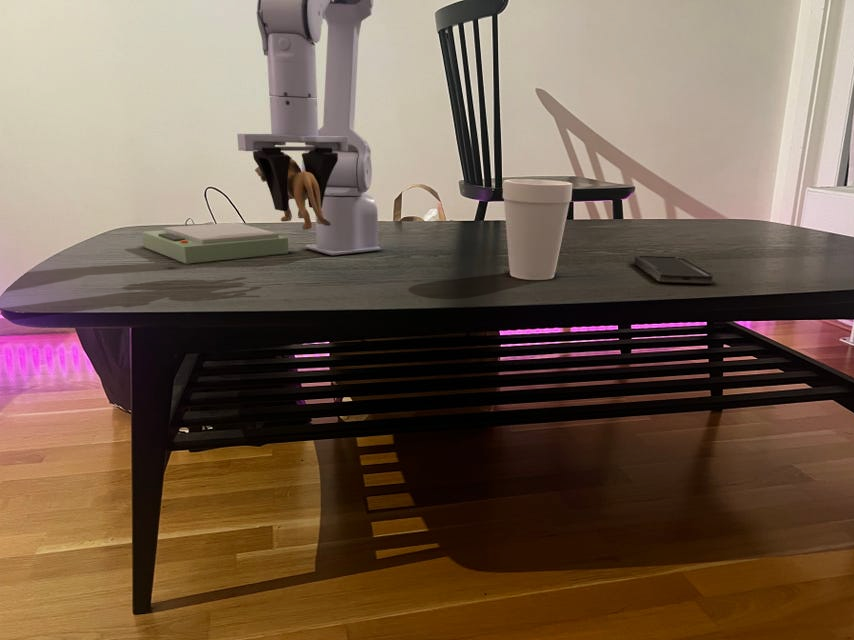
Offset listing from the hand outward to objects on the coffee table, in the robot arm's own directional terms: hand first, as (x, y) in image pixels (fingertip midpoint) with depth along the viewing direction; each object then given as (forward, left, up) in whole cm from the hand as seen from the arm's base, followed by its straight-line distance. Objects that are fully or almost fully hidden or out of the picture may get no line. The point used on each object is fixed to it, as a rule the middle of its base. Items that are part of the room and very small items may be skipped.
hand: (298, 209), depth 91 cm
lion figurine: (0, 0, -2) cm, 2 cm away
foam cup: (-27, +18, -9) cm, 33 cm away
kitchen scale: (+1, -23, -9) cm, 25 cm away
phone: (-46, +29, -9) cm, 55 cm away
